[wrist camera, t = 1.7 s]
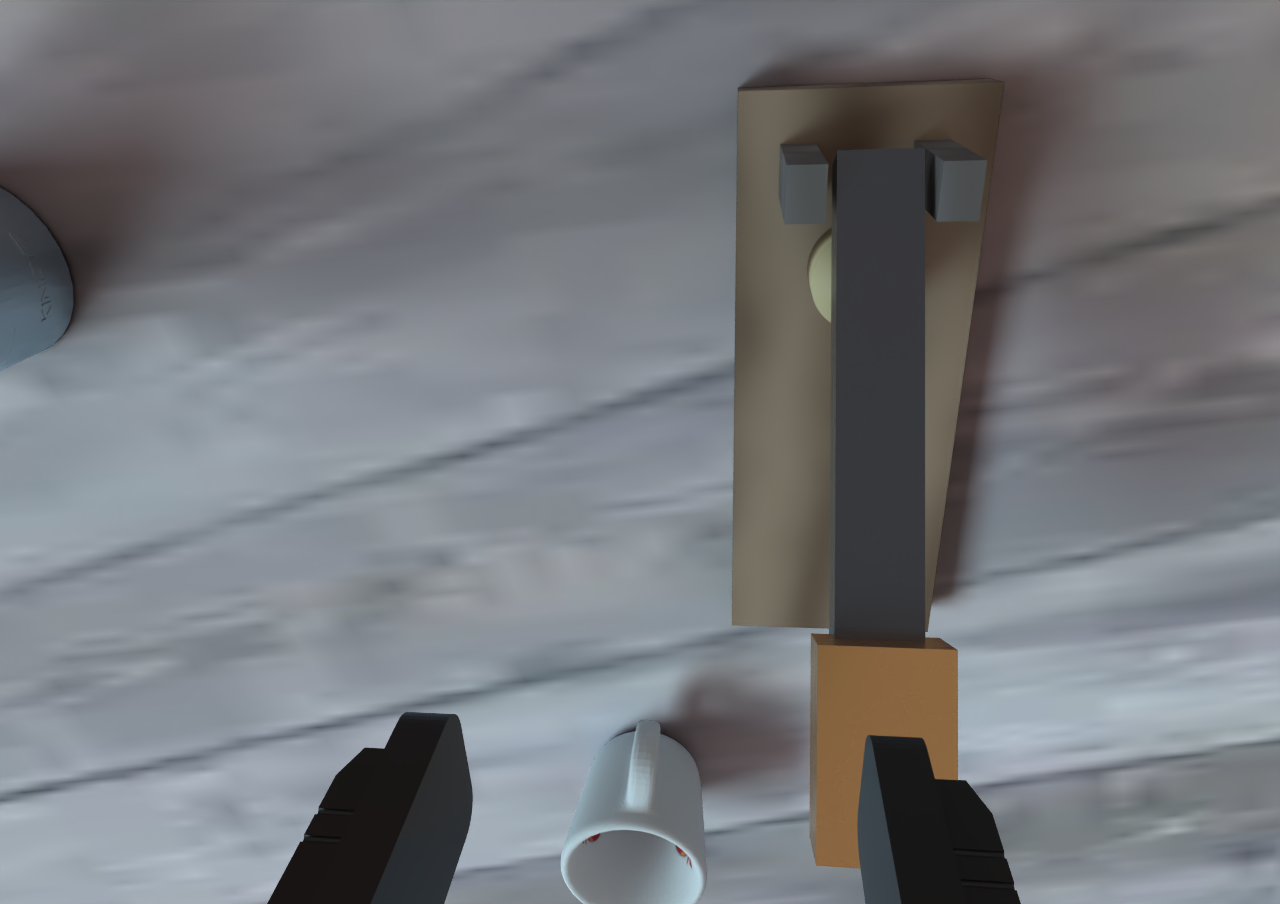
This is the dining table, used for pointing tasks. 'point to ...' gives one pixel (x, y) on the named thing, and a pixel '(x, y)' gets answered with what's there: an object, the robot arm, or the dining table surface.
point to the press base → (806, 334)
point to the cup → (638, 825)
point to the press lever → (876, 501)
